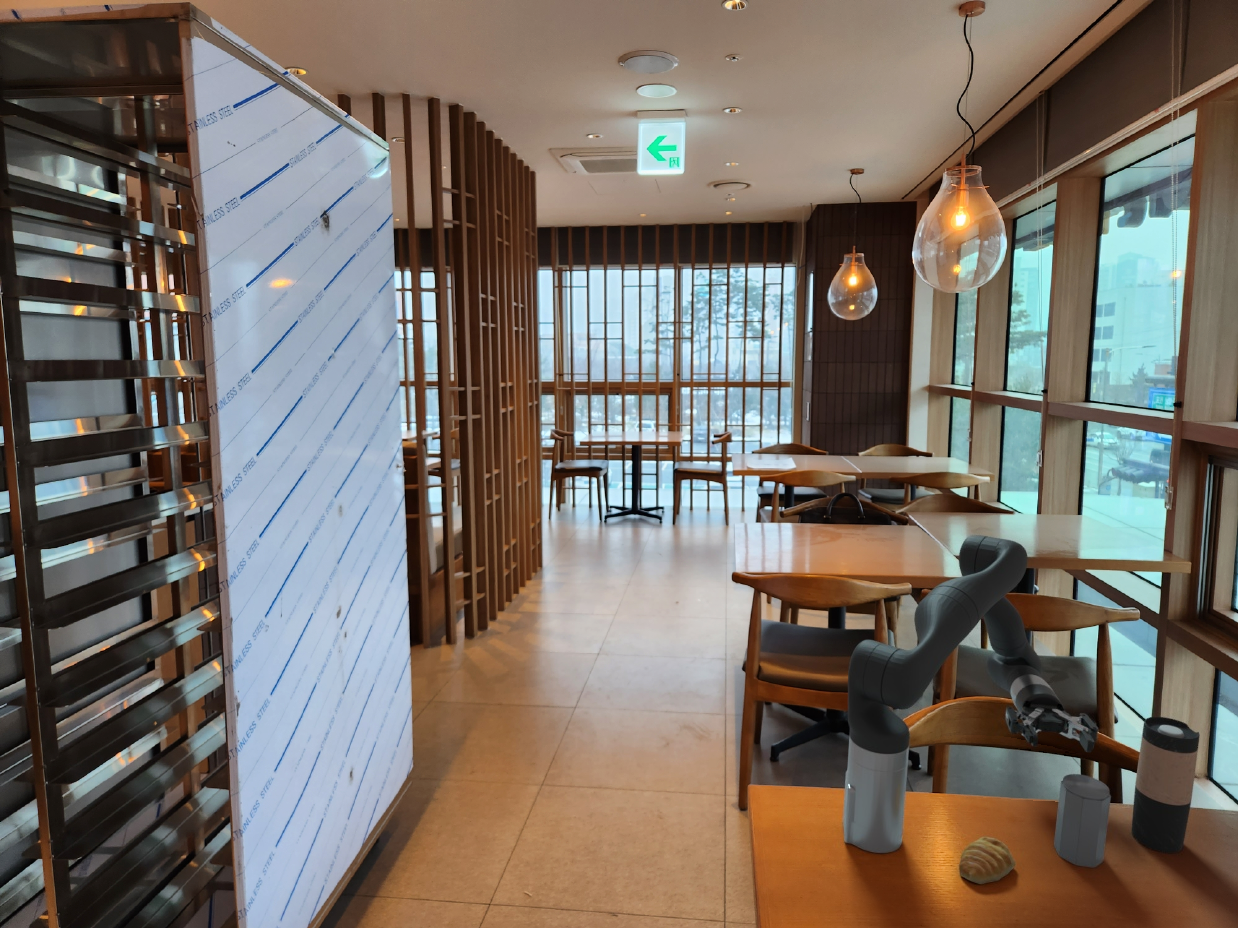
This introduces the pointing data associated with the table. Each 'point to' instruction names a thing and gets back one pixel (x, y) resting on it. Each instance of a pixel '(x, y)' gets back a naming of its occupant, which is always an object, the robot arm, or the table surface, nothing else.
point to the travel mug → (1164, 784)
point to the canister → (1082, 820)
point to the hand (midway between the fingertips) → (1062, 744)
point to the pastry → (985, 861)
